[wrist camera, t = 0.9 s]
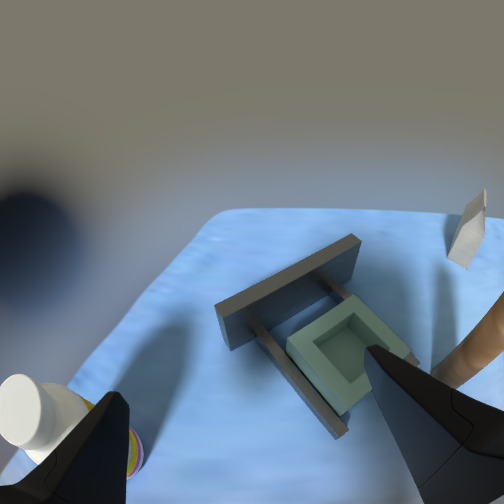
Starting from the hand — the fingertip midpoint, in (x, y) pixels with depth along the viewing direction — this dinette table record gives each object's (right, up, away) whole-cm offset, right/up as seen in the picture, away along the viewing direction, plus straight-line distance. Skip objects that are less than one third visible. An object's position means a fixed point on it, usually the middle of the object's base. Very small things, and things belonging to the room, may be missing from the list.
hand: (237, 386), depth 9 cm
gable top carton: (+32, +4, +25) cm, 41 cm away
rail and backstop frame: (+8, -5, +17) cm, 19 cm away
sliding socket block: (+9, -6, +15) cm, 19 cm away
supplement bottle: (-12, -14, +9) cm, 20 cm away
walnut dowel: (+20, -8, +12) cm, 25 cm away
